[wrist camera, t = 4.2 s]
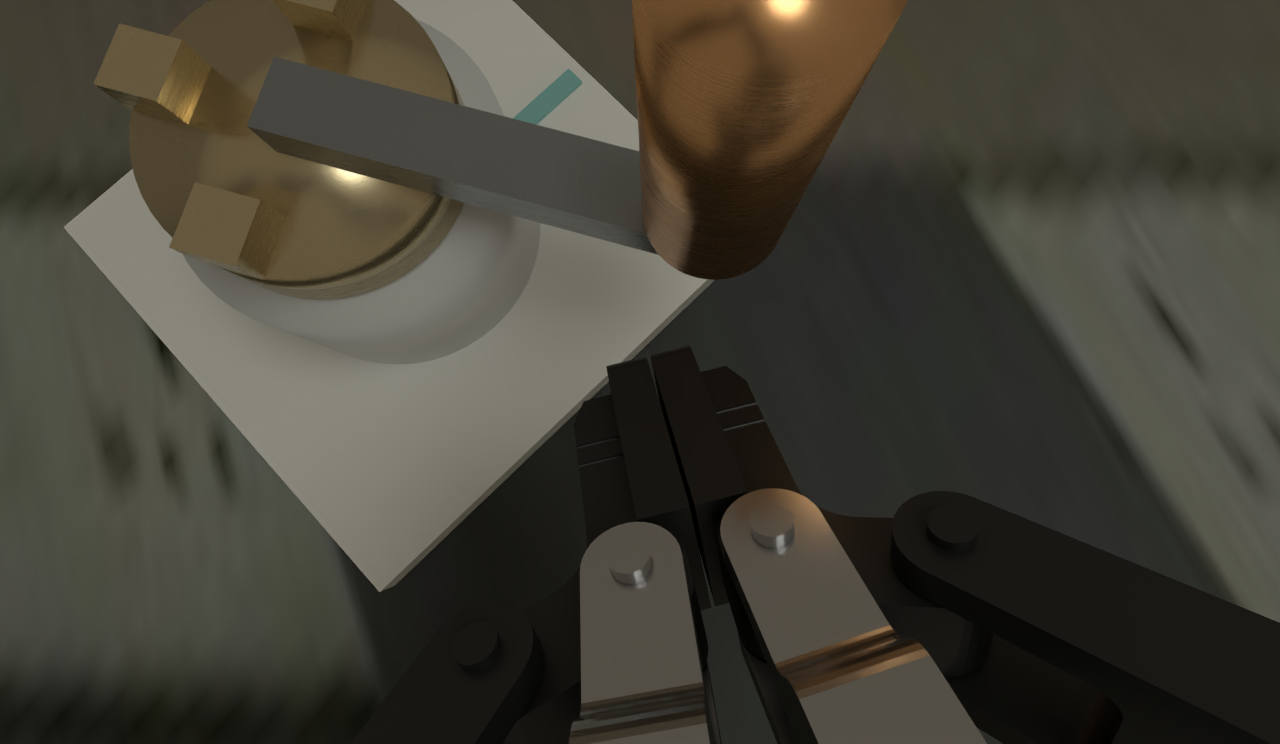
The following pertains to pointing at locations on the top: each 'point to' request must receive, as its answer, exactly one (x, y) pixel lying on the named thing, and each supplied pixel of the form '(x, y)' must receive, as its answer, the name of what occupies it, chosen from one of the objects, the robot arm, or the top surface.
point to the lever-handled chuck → (474, 136)
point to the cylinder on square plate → (414, 323)
